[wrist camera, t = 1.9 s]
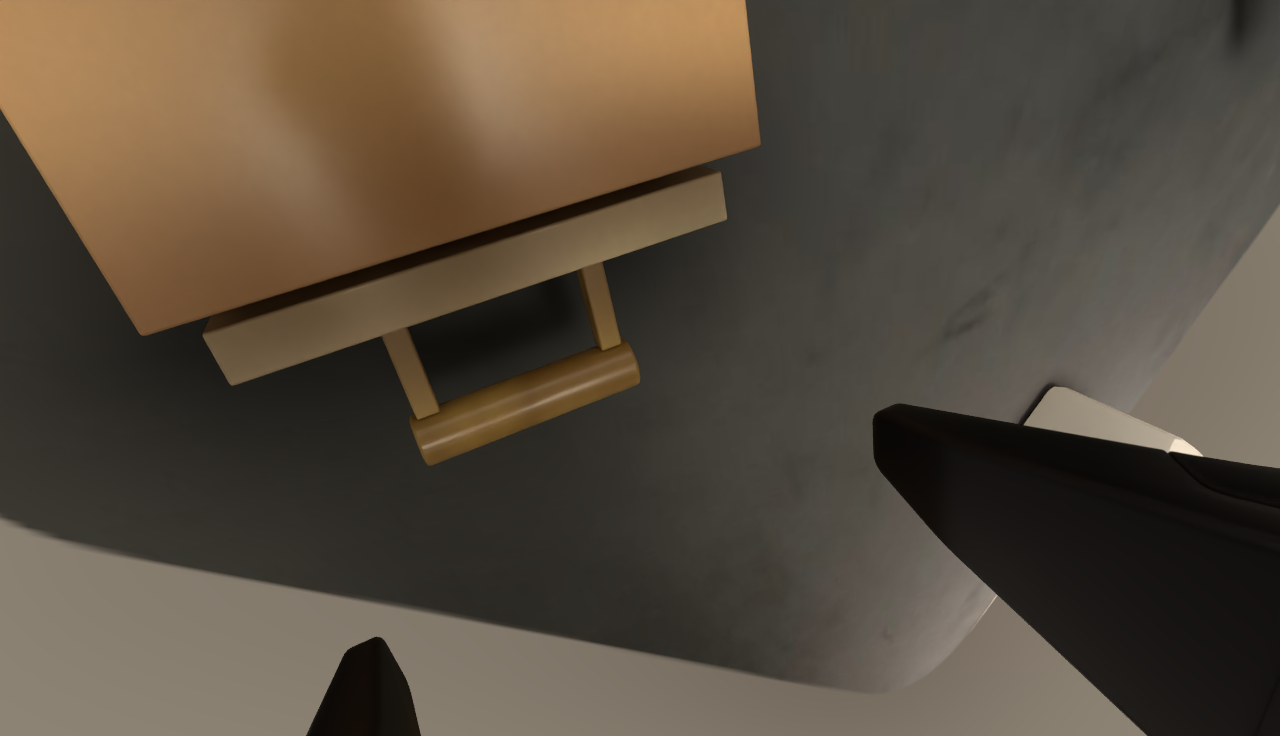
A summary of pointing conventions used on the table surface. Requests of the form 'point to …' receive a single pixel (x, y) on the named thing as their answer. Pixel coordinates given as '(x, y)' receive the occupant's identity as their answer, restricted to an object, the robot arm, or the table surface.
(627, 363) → the drawer
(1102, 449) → the robot arm
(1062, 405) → the pepper shaker
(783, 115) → the table surface
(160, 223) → the cabinet
